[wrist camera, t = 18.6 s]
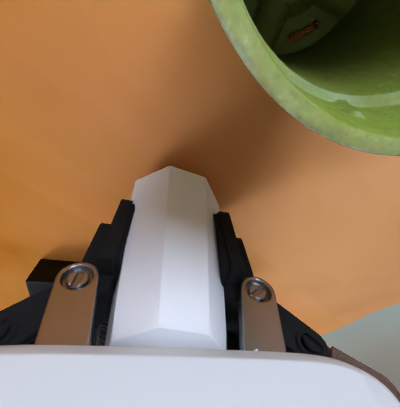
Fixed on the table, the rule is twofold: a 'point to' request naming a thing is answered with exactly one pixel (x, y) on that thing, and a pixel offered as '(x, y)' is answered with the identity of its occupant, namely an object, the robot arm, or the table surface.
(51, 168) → the table surface
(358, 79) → the plant pot
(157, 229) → the pepper shaker
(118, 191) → the table surface
